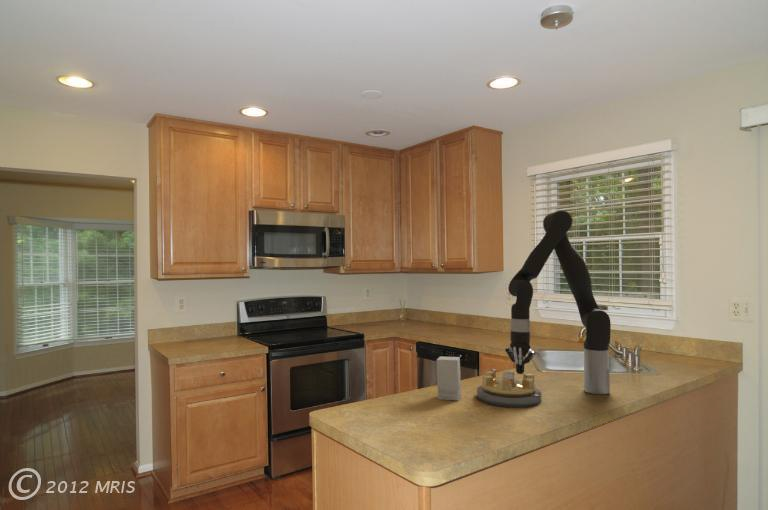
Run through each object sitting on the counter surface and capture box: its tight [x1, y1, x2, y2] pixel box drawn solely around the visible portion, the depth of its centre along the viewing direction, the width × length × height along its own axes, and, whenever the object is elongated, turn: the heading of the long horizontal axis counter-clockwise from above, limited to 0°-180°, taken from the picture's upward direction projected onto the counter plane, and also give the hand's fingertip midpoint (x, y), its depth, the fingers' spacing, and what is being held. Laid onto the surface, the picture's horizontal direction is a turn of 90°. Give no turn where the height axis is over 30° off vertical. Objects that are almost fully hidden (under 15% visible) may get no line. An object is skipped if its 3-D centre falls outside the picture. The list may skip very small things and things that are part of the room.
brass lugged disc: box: [481, 369, 537, 397], centre depth 192 cm, size 20×20×6 cm
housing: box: [476, 385, 542, 409], centre depth 192 cm, size 24×24×3 cm
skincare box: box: [436, 355, 462, 401], centre depth 193 cm, size 8×7×16 cm
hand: (520, 373), depth 198 cm, fingers closed
